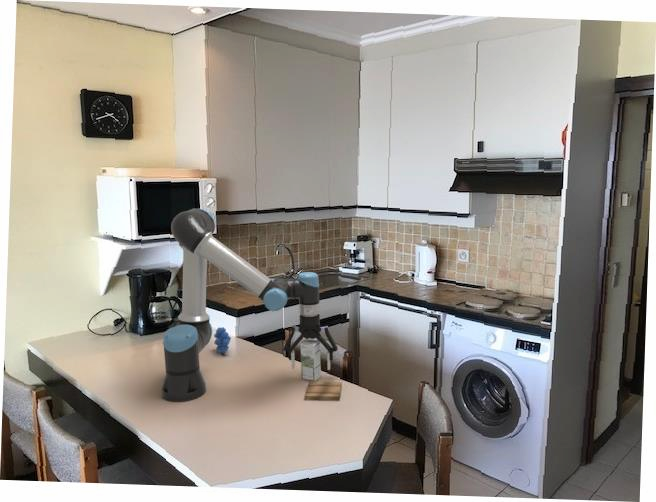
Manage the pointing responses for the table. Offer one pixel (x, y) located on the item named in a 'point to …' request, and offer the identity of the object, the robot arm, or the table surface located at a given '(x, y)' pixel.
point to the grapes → (222, 340)
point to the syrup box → (310, 359)
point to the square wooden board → (323, 391)
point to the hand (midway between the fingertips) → (311, 368)
